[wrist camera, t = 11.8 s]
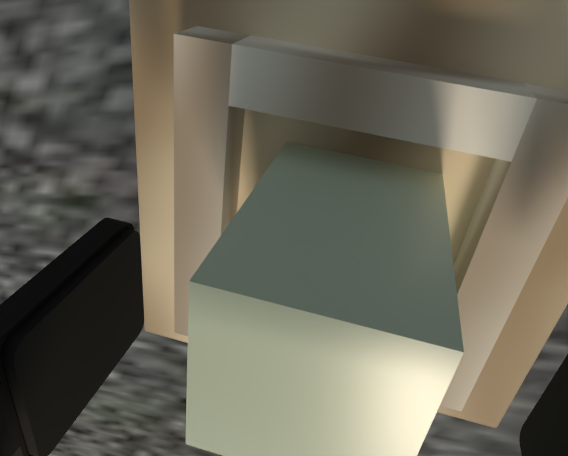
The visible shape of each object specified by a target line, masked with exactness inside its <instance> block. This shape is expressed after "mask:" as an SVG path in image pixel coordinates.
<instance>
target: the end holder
mask: <svg viewBox="0 0 568 456" xmlns="http://www.w3.org/2000/svg"><path fill="white" fill-rule="evenodd" d="M129 9H130V29H131V50H132V71H133V92H134V113H135V133H136V154H137V175H138V196H139V217H140V237H141V258H142V279H143V300H144V321H145V331H147V332H151V333H154V334H158V335H162V336H165V337H169V338H172V339H176V340H180V341H183V342H187V343H188V311H189V281H190V279H191V278H192V276H193V275H194V273H195V272H196V271H197V269H198V268H199V266H200V265H201V263H202V262H203V261H204V259H205V258H206V256H207V255H208V253H209V252H210V251H211V249H212V248H213V246H214V245H215V243H216V242H217V240H218V239H219V238H220V236H221V235H222V233H223V232H224V230H225V229H226V228H227V226H228V225H229V223H230V222H231V220H232V219H233V218H234V216H235V215H236V213H237V212H238V210H239V209H240V208H241V206H242V205H243V203H244V202H245V200H246V199H247V198H248V196H249V195H250V193H251V192H252V190H253V189H254V188H255V186H256V185H257V183H258V182H259V180H260V179H261V177H262V176H263V175H264V173H265V172H266V170H267V169H268V167H269V166H270V165H271V163H272V162H273V160H274V159H275V157H276V156H277V155H278V153H279V152H280V150H281V149H282V147H283V146H284V145H285V143H286V142H292V143H297V144H301V145H306V146H311V147H316V148H321V149H325V150H330V151H335V152H340V153H345V154H349V155H354V156H359V157H364V158H369V159H373V160H378V161H383V162H388V163H393V164H397V165H402V166H407V167H412V168H417V169H422V170H426V171H431V172H436V173H441V174H443V181H444V190H445V198H446V206H447V215H448V223H449V231H450V240H451V248H452V256H453V265H454V273H455V281H456V290H457V298H458V306H459V315H460V323H461V331H462V340H463V348H464V354H463V356H462V358H461V360H460V362H459V364H458V367H457V369H456V371H455V373H454V375H453V378H452V380H451V382H450V384H449V386H448V388H447V391H446V393H445V395H444V397H443V399H442V402H441V404H440V406H439V408H438V410H437V412H439V413H443V414H446V415H450V416H454V417H457V418H461V419H464V420H468V421H472V422H475V423H479V424H483V425H486V426H490V427H493V428H497V426H498V424H499V422H500V421H501V419H502V417H503V415H504V414H505V412H506V410H507V409H508V407H509V405H510V403H511V402H512V400H513V398H514V396H515V395H516V393H517V391H518V389H519V388H520V386H521V384H522V382H523V381H524V379H525V377H526V375H527V374H528V372H529V370H530V368H531V367H532V365H533V363H534V361H535V360H536V358H537V356H538V355H539V353H540V351H541V349H542V348H543V346H544V344H545V342H546V341H547V339H548V337H549V335H550V334H551V332H552V330H553V328H554V327H555V325H556V323H557V321H558V320H559V318H560V316H561V314H562V313H563V311H564V309H565V307H566V306H567V304H568V0H129Z"/></svg>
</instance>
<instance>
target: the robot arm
mask: <svg viewBox="0 0 568 456" xmlns="http://www.w3.org/2000/svg"><path fill="white" fill-rule="evenodd" d="M143 324H144V304H143V285H142V267H141V249H140V236H139V233H138V232H137V231H134V227H133V226H132V224H130V223H127V222H123V221H119V220H115V219H111V218H104V219H103V220H101V221H100V222H99V223H98V224H96V225H95V226H94V227H93V228H92V229H90V230H89V231H88V232H87V233H86V234H84V235H83V236H82V237H81V238H80V239H78V240H77V241H76V242H75V243H74V244H72V245H71V246H70V247H69V248H68V249H66V250H65V251H64V252H63V253H62V254H60V255H59V256H58V257H57V258H56V259H54V260H53V261H52V262H51V263H50V264H49V265H47V266H46V267H45V268H44V269H43V270H41V271H40V272H39V273H38V274H37V275H35V276H34V277H33V278H32V279H31V280H29V281H28V282H27V283H26V284H25V285H23V286H22V287H21V288H20V289H19V290H17V291H16V292H15V293H14V294H13V295H11V296H10V297H9V298H8V299H7V300H5V301H4V302H3V303H2V304H1V305H0V456H48V455H49V454H50V453H51V452H52V451H53V449H54V448H55V447H56V445H57V444H58V443H59V441H60V440H61V439H62V437H63V436H64V435H65V433H66V432H67V430H68V429H69V428H70V426H71V425H72V424H73V422H74V421H75V420H76V418H77V417H78V416H79V414H80V413H81V412H82V410H83V409H84V408H85V406H86V405H87V404H88V402H89V401H90V400H91V398H92V397H93V396H94V394H95V393H96V392H97V390H98V389H99V387H100V386H101V385H102V383H103V382H104V381H105V379H106V378H107V377H108V375H109V374H110V373H111V371H112V370H113V369H114V367H115V366H116V365H117V363H118V362H119V361H120V359H121V358H122V357H123V355H124V354H125V353H126V351H127V350H128V349H129V347H130V346H131V344H132V343H133V342H134V340H135V339H136V338H137V336H138V335H139V334H140V332H141V330H142V327H143ZM520 448H521V453H522V456H568V355H567V356H566V358H565V359H564V361H563V363H562V364H561V366H560V367H559V369H558V371H557V372H556V374H555V375H554V377H553V378H552V380H551V382H550V383H549V385H548V386H547V388H546V390H545V391H544V393H543V394H542V396H541V398H540V399H539V401H538V402H537V404H536V405H535V407H534V409H533V410H532V412H531V413H530V415H529V417H528V418H527V420H526V421H525V423H524V424H523V426H522V429H521V432H520Z"/></svg>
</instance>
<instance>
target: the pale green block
mask: <svg viewBox="0 0 568 456" xmlns="http://www.w3.org/2000/svg"><path fill="white" fill-rule="evenodd" d="M463 354H464V348H463V340H462V331H461V323H460V315H459V306H458V298H457V290H456V281H455V273H454V265H453V256H452V248H451V240H450V231H449V223H448V215H447V206H446V198H445V190H444V181H443V174H441V173H436V172H431V171H426V170H422V169H417V168H412V167H407V166H402V165H397V164H393V163H388V162H383V161H378V160H373V159H369V158H364V157H359V156H354V155H349V154H345V153H340V152H335V151H330V150H325V149H321V148H316V147H311V146H306V145H301V144H297V143H292V142H286V143H285V145H284V146H283V147H282V149H281V150H280V152H279V153H278V155H277V156H276V157H275V159H274V160H273V162H272V163H271V165H270V166H269V167H268V169H267V170H266V172H265V173H264V175H263V176H262V177H261V179H260V180H259V182H258V183H257V185H256V186H255V188H254V189H253V190H252V192H251V193H250V195H249V196H248V198H247V199H246V200H245V202H244V203H243V205H242V206H241V208H240V209H239V210H238V212H237V213H236V215H235V216H234V218H233V219H232V220H231V222H230V223H229V225H228V226H227V228H226V229H225V230H224V232H223V233H222V235H221V236H220V238H219V239H218V240H217V242H216V243H215V245H214V246H213V248H212V249H211V251H210V252H209V253H208V255H207V256H206V258H205V259H204V261H203V262H202V263H201V265H200V266H199V268H198V269H197V271H196V272H195V273H194V275H193V276H192V278H191V279H190V281H189V311H188V359H187V407H186V444H188V445H191V446H194V447H197V448H200V449H204V450H207V451H210V452H213V453H216V454H220V455H223V456H417V454H418V452H419V450H420V447H421V445H422V443H423V441H424V439H425V437H426V434H427V432H428V430H429V428H430V426H431V423H432V421H433V419H434V417H435V415H436V412H437V410H438V408H439V406H440V404H441V402H442V399H443V397H444V395H445V393H446V391H447V388H448V386H449V384H450V382H451V380H452V378H453V375H454V373H455V371H456V369H457V367H458V364H459V362H460V360H461V358H462V356H463Z"/></svg>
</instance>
